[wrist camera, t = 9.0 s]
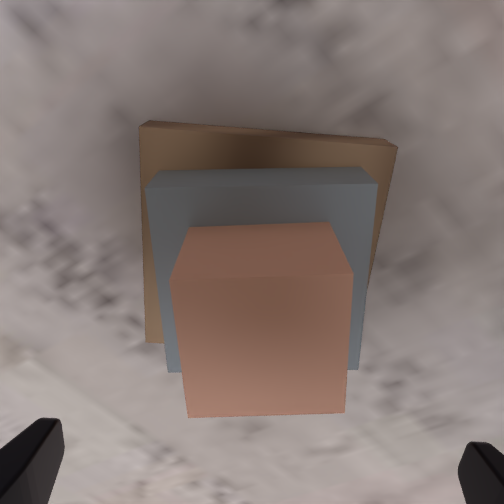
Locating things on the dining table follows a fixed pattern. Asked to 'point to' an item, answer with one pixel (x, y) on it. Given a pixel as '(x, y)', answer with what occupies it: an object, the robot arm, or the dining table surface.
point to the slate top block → (261, 222)
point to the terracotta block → (262, 319)
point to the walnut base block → (248, 157)
